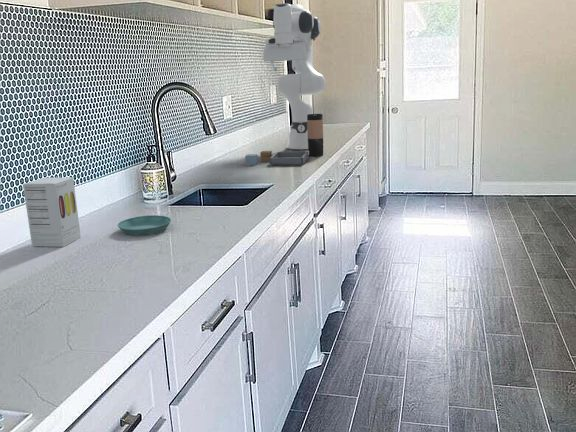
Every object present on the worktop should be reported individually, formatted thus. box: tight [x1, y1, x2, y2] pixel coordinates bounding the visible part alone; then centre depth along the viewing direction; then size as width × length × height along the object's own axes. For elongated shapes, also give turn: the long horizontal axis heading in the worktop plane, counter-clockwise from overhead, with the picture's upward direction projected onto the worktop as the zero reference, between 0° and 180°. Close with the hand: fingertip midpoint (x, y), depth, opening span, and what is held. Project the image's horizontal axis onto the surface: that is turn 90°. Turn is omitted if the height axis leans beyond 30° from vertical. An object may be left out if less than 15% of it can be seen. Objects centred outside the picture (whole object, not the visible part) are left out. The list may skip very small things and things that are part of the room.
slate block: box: [244, 153, 258, 166], centre depth 269 cm, size 4×4×4 cm
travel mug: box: [307, 113, 324, 158], centre depth 285 cm, size 8×8×20 cm
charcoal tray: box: [269, 150, 309, 167], centre depth 271 cm, size 19×15×4 cm
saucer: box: [116, 214, 172, 236], centre depth 165 cm, size 15×15×3 cm
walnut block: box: [260, 150, 273, 163], centre depth 277 cm, size 4×4×4 cm
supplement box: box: [22, 176, 82, 248], centre depth 155 cm, size 10×9×17 cm
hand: (285, 70), depth 275 cm, fingers open, 8 cm apart
